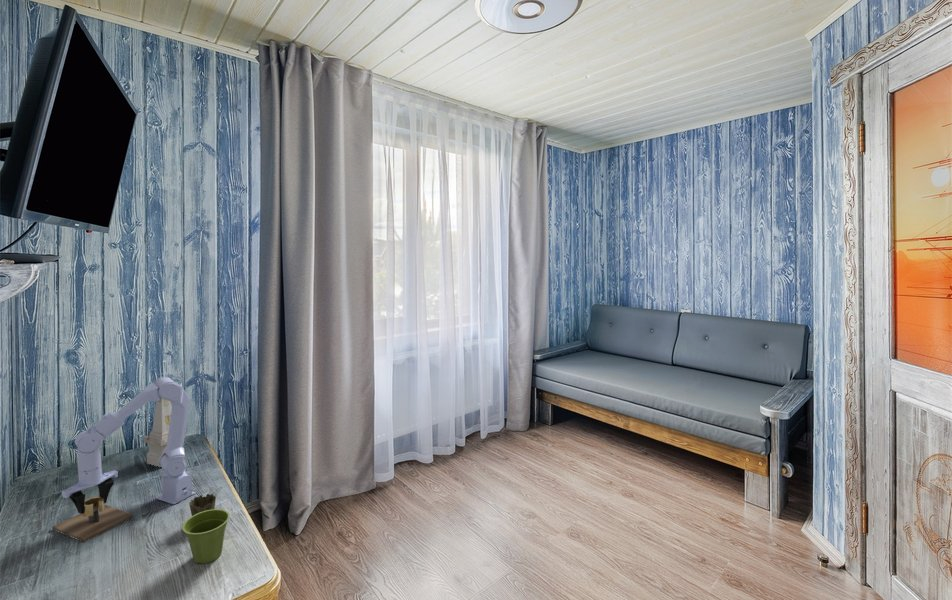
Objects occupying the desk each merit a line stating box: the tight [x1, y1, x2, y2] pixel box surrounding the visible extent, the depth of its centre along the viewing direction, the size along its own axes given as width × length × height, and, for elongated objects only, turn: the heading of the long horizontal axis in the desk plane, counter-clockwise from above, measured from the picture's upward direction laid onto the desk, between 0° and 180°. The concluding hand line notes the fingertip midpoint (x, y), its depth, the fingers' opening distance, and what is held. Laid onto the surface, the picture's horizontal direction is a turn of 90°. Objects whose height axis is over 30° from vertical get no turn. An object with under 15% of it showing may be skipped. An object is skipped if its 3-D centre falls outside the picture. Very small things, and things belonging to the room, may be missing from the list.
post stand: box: [51, 503, 134, 542], centre depth 143 cm, size 16×14×6 cm
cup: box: [189, 493, 217, 517], centre depth 145 cm, size 8×7×8 cm
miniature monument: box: [143, 397, 187, 468], centre depth 185 cm, size 10×10×30 cm
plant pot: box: [181, 508, 230, 564], centre depth 129 cm, size 12×12×11 cm
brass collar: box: [79, 496, 105, 517], centre depth 143 cm, size 6×6×4 cm
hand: (92, 507), depth 143 cm, fingers closed on brass collar, 6 cm apart
